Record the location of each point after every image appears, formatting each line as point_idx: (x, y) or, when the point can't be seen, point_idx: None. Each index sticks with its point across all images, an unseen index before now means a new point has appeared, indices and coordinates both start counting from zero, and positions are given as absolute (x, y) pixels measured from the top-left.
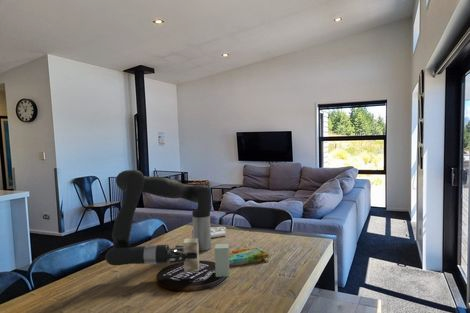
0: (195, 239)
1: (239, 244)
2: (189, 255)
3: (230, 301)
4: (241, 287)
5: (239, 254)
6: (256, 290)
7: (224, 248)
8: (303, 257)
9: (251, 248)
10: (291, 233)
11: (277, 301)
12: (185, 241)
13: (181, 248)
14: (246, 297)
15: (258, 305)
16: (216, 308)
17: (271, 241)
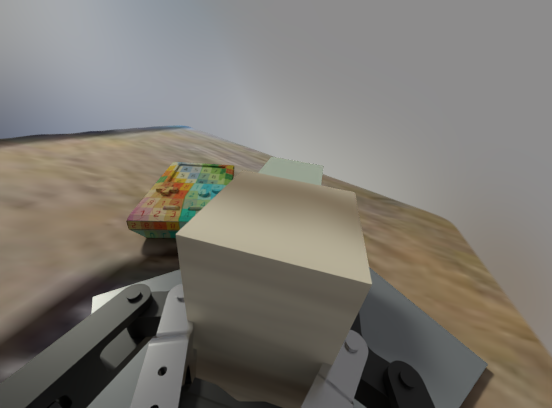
0: (268, 183)
1: (60, 180)
2: (359, 321)
3: (466, 292)
4: (368, 249)
5: (206, 190)
6: (382, 231)
7: (322, 172)
8: (242, 155)
9: (175, 168)
10: (118, 132)
11: (427, 221)
12: (310, 250)
13: (184, 368)
14: (426, 255)
15: (459, 248)
16: (540, 341)
17: (123, 151)
